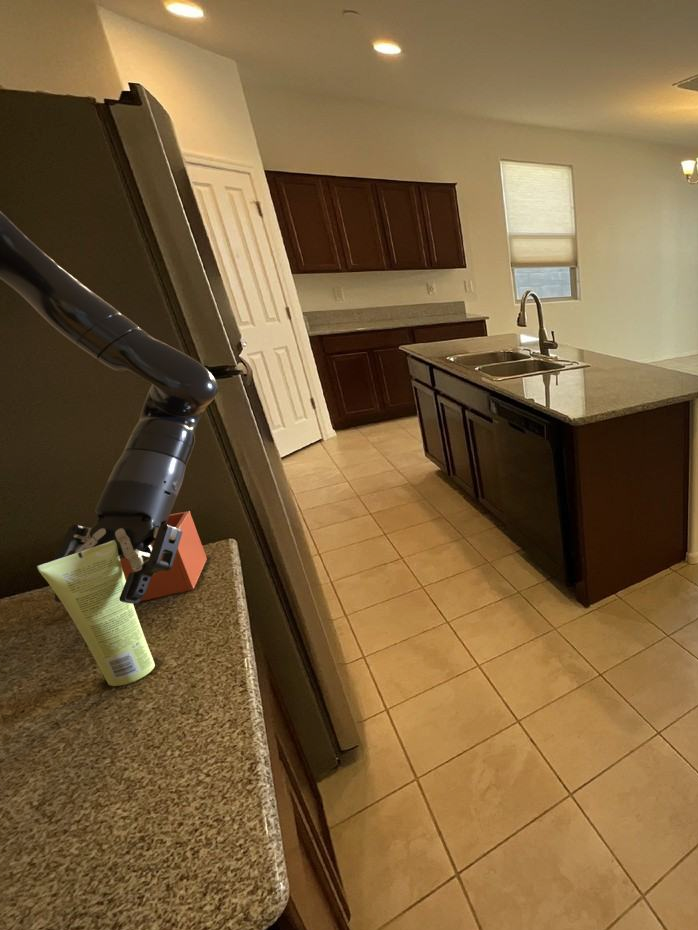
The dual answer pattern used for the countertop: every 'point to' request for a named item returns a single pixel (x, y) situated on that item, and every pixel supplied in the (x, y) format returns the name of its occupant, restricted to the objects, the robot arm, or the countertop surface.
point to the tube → (101, 611)
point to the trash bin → (176, 561)
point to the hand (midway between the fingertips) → (96, 602)
